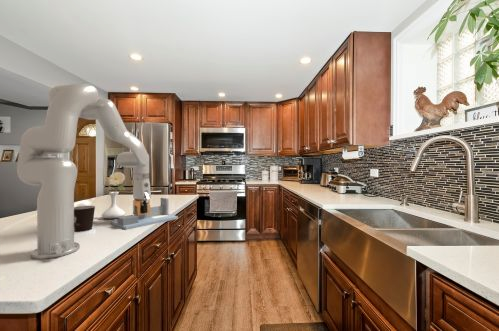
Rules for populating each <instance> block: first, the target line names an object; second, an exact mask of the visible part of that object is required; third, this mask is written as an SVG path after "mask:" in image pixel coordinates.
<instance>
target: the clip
mask: <svg viewBox="0 0 499 331" xmlns="http://www.w3.org/2000/svg"><path fill="white" fill-rule="evenodd" d="M150 200H151V199H150ZM150 200H149V202H148V205H147V213H143V214H141V206H142V204H141V200H132V215H134V207H137V215H144V214H150V207H151V203H150V202H151V201H150ZM144 201H145V200H144ZM144 201H143V202H144Z"/></svg>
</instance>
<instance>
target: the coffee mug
mask: <svg viewBox="0 0 499 331" xmlns="http://www.w3.org/2000/svg"><path fill="white" fill-rule="evenodd" d="M95 210H96V205H79V206H74V233H75V232H77V233H81V232H88V231H91V230H92V229H93V226H94V217H95Z"/></svg>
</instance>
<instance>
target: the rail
mask: <svg viewBox="0 0 499 331" xmlns="http://www.w3.org/2000/svg"><path fill="white" fill-rule="evenodd" d="M178 219H179V216H177V215H174V214H170V213H169V198H166V197H160V205H158V206H150V214H144V215H137V207H134V214H130V215H124V216H122V217H117V218H116V220H111V222H110V223H111V225H113V226H115V227H118V228H121V229H124V230H126V231H127V230H131V229H136V228H141V227H145V226H150V225H154V224H158V223H160V224H161V223H164V222H168V221H173V220H178Z"/></svg>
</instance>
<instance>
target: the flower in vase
mask: <svg viewBox="0 0 499 331" xmlns="http://www.w3.org/2000/svg"><path fill="white" fill-rule="evenodd" d="M125 179H126V176H125V174H124V173H122V172H121V171H117V172H116V171H115V172H114V173H112V174H111V175H109V177H108V179H107V180H108V184H110V185H112V186H117V188H114V187H111V186H109V185H108V187H109V188H110V189H113V190H115V191H111V192H110V191H109V192H108V194H109V196H110V198H111V199H110V200H111V201H110V202H111V204H110V206H109V207H108V208H107V209H106V210H104V212H103V213H101V217H102V219H103V218H104V219H111V220H112V219H117V217H122V216H126V211H124V209H122V208H121V207H119V206H118V205H117V198H118V195H119V193H120V192H119V191H123V190H124V191H125V190H126V188H125V187H124V186H123V185H122V183H123V182H124V181H125ZM120 184H121V185H120ZM117 190H119V191H117Z"/></svg>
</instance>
